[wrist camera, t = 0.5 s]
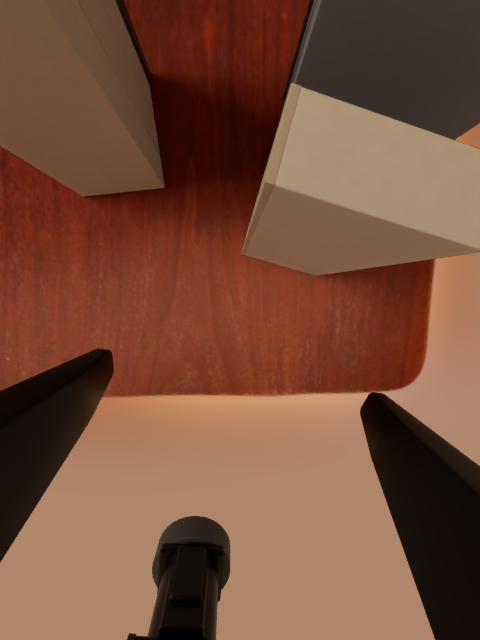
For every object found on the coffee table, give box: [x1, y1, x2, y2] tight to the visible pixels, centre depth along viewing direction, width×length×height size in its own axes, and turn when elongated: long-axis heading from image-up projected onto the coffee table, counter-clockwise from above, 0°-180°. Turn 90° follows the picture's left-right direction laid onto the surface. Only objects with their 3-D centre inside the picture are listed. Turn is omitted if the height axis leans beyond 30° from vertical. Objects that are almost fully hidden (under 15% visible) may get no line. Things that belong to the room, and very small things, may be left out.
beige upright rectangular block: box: [0, 0, 165, 197], centre depth 12 cm, size 8×7×14 cm
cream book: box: [241, 83, 480, 276], centre depth 13 cm, size 2×7×14 cm, turn 75°
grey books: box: [275, 0, 480, 140], centre depth 12 cm, size 8×7×16 cm
